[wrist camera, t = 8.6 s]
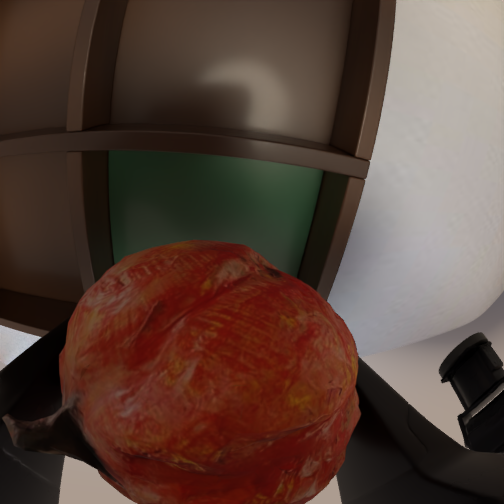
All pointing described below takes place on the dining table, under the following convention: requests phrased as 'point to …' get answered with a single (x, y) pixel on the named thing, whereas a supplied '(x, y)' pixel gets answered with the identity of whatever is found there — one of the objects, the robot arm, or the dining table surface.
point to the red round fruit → (203, 381)
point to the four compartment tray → (180, 136)
